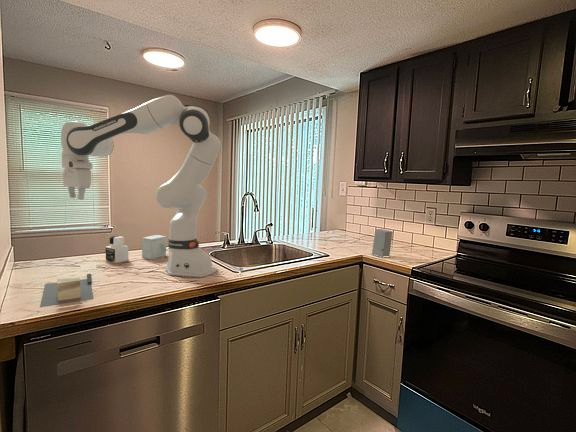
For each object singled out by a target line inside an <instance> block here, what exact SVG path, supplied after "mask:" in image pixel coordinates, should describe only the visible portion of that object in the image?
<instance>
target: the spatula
mask: <svg viewBox="0 0 576 432" xmlns="http://www.w3.org/2000/svg"><path fill="white" fill-rule="evenodd" d="M95 269H96V270H97V263H95V262H94V263H85V264H80V265H79V271H85V270H86V271H87V270H89V271H87V274H86V279H87V283H91V284H92V282H93V281H92V274H91V271H90V270H95Z"/></svg>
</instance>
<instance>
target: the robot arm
mask: <svg viewBox="0 0 576 432" xmlns="http://www.w3.org/2000/svg"><path fill="white" fill-rule="evenodd" d="M210 117H211V116H210V115H209V113H208V111H207V110H206V109H205V108H204V107H202V106H199V105H194V104H193V105H191V104H185V105H184V104H183V103H182V101H181V100H180V99H179V98H178V97H177V96H175V95H173V94H165V95H163V96H159V97H156V98H153V99H151V100H149V101H147V102H144V103H142V104H141V105H139V106H136V107H135V108H132V109H130V110H127V111H125V112H122V113H120V114H117V115H114V116H112V117H108V118H107V119H104V120H101V121H99V122H97V123H94V124H92V125H87V124H86V123H85V122H83V121H67V122H65V123H63V124H62V127H61V132H60V144H61V147H62V153H61V167H62V168H64V169H63V173H62V178H63V179H62V181H63V182H62V183H63V186H65V187H67V190H68V191H67V192H68V194H69V198H70V199H76V198H77V200H82V201H84V199H85V193H86V189H90V187H91V185H92V184H91V183H92V169H93V164H92V162H91V161H90V160H89V158H90V157H89V156H91V157H107V156H108V157H109V155H111V153H112V152H113V151H114V141H113V138H115V137H117V136H120V135H124V134H140V135H151V134H154V133H157V132H160V131H162V130H165V129H166V128H168V127H170V126H173V125H179V128H180V131H181V132H182V133H183V134H184V135H185V136H186V137H187V138H188V139H189V140H191V141H192V145H191V147H190V149H189V151H188V153H187V156H186V157H185V160H184V161H183V163H182V165H181V167H180V169H179V170H178V171H176V173H175V174H174V175H173V176H172V177H171V178H170V179H169V180H168V181H167V182H165V183H163V184H161V185H159V186H158V188H157V189H156V192H155V198H156V201H157V203H158V205H159V206H160V207H162V208H167V209H172V210H173V209H175V210H176V209H177V210H176V213H175V215H174V216H173V217H172V218H171V219H170V221H169V238H168V243H167V244H168V256H167V257H168V258H167V264H166V267H165V272H167V275H169V276H178V277H180V276H182V277H197V278H203V277H207V276H211V275H212V274H215V273H216V272H217V271H218V267H217V266H214V265H213V262H212V258H211V256H210V254H208V253H206V251H204V249H202V248H201V247H200V245H199V244H201V240H197V238H196V231H197V230H196V229H197V219H198V215H199V212H200V210H201V209H202V206H203V205H204V203H205V202H206V201H207V198H208V193H207V190H206V188H205V187H204V186H203V185H201V183H203V182H204V181H206V180H207V178H208V176H209V174H210V172H211V170H212V168H213V166H214V164H215V162H216V160H217V158H218V156H219V151H220V150H221V145H222V144H221V143H222V142H221V140H220V138H219V137H218V136H217V135H216V134H214V133H212V132H211V130H210V123H211V118H210ZM76 189H77V191H78V193H77V195H76V191H75V190H76Z"/></svg>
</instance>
